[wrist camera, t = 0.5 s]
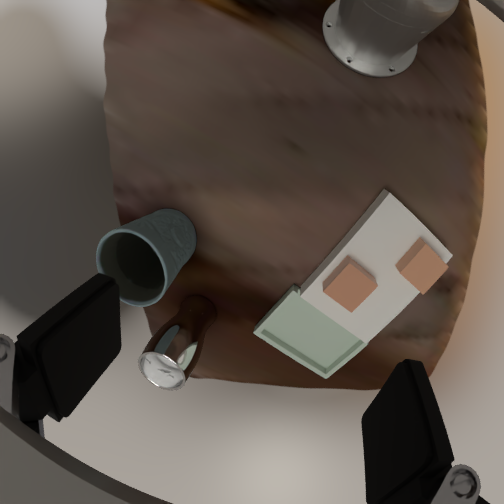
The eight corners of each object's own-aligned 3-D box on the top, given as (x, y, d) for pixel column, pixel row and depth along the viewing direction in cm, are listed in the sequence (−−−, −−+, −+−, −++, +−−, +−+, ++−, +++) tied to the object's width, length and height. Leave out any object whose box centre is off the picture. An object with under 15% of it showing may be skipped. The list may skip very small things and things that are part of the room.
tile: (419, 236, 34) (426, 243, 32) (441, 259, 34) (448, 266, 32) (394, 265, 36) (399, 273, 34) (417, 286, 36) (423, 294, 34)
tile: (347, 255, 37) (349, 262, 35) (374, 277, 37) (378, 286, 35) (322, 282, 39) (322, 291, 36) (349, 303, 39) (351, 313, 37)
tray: (293, 283, 43) (293, 290, 41) (366, 336, 44) (368, 343, 42) (255, 325, 47) (253, 333, 45) (326, 370, 48) (326, 378, 46)
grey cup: (208, 215, 42) (172, 245, 31) (194, 277, 46) (161, 320, 35) (146, 196, 42) (97, 218, 31) (138, 256, 46) (94, 290, 35)
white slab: (384, 188, 36) (389, 192, 33) (444, 247, 37) (452, 255, 34) (300, 286, 43) (299, 296, 40) (363, 332, 44) (366, 343, 41)
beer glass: (220, 331, 48) (190, 396, 35) (181, 325, 50) (142, 384, 36) (218, 294, 46) (182, 357, 32) (176, 289, 47) (131, 345, 33)
